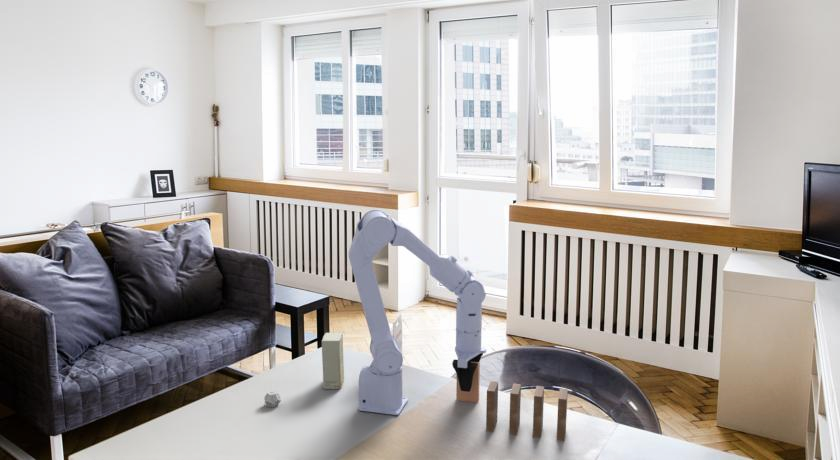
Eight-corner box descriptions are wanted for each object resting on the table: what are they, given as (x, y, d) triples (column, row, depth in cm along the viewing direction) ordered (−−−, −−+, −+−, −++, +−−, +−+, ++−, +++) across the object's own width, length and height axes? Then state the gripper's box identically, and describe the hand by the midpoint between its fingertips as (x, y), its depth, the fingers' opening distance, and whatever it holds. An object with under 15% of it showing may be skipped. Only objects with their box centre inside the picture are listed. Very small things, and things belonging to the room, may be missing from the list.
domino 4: (556, 440, 135) (558, 398, 133) (558, 428, 140) (559, 388, 138) (564, 441, 134) (566, 399, 133) (565, 429, 139) (567, 389, 137)
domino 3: (532, 437, 136) (534, 395, 134) (534, 425, 141) (536, 385, 139) (540, 438, 136) (542, 396, 134) (542, 426, 140) (544, 386, 139)
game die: (272, 410, 148) (271, 397, 147) (261, 405, 150) (260, 393, 150) (284, 404, 151) (283, 392, 150) (273, 400, 153) (272, 388, 152)
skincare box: (341, 389, 158) (340, 341, 156) (322, 389, 158) (321, 341, 156) (344, 378, 164) (343, 332, 162) (326, 378, 164) (325, 331, 162)
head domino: (477, 402, 151) (478, 365, 150) (456, 400, 153) (456, 363, 151) (479, 399, 153) (479, 362, 151) (457, 397, 154) (458, 360, 153)
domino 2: (509, 434, 137) (510, 393, 135) (512, 422, 142) (513, 383, 140) (516, 435, 137) (518, 394, 135) (519, 423, 142) (521, 384, 140)
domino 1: (486, 431, 138) (486, 390, 137) (489, 420, 143) (490, 380, 141) (493, 432, 138) (494, 391, 136) (497, 421, 143) (498, 381, 141)
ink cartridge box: (384, 365, 173) (383, 311, 170) (402, 367, 172) (402, 312, 169) (375, 379, 164) (374, 322, 162) (395, 380, 163) (394, 323, 161)
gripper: (480, 341, 142) (479, 401, 144) (491, 320, 155) (490, 375, 158) (448, 338, 144) (447, 397, 146) (461, 317, 157) (461, 372, 160)
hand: (467, 385), depth 152 cm, fingers open, 5 cm apart
